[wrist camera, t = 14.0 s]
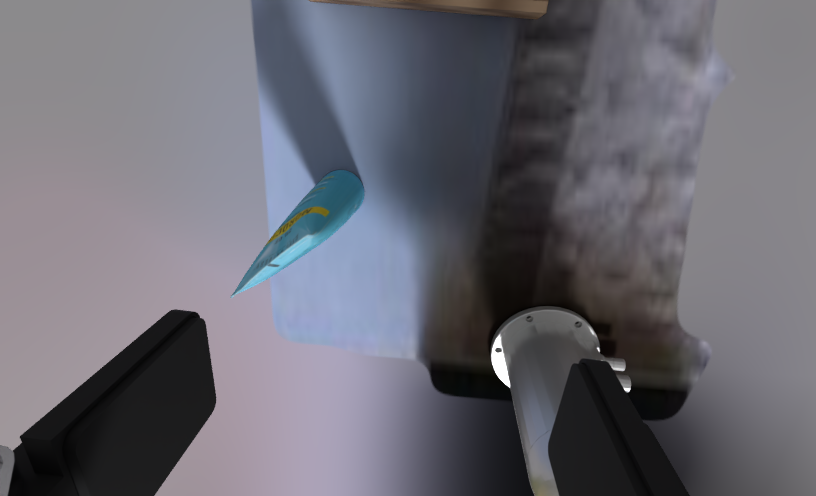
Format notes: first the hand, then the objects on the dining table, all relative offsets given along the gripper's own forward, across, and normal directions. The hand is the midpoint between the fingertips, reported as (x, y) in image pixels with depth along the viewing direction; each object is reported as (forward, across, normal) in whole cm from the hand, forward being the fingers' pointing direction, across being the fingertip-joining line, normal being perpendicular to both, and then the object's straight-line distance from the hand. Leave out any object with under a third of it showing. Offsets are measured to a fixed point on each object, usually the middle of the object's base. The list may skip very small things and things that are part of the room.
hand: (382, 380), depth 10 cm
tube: (+34, +9, +5) cm, 35 cm away
